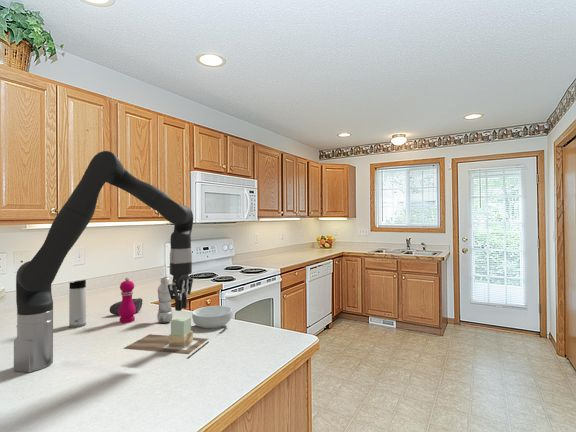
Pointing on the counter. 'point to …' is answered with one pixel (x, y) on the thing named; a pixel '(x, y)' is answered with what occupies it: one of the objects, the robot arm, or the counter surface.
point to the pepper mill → (127, 302)
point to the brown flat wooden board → (165, 345)
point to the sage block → (180, 326)
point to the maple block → (180, 340)
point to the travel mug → (77, 304)
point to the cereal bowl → (212, 316)
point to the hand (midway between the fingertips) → (181, 309)
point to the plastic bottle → (164, 301)
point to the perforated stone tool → (115, 307)
